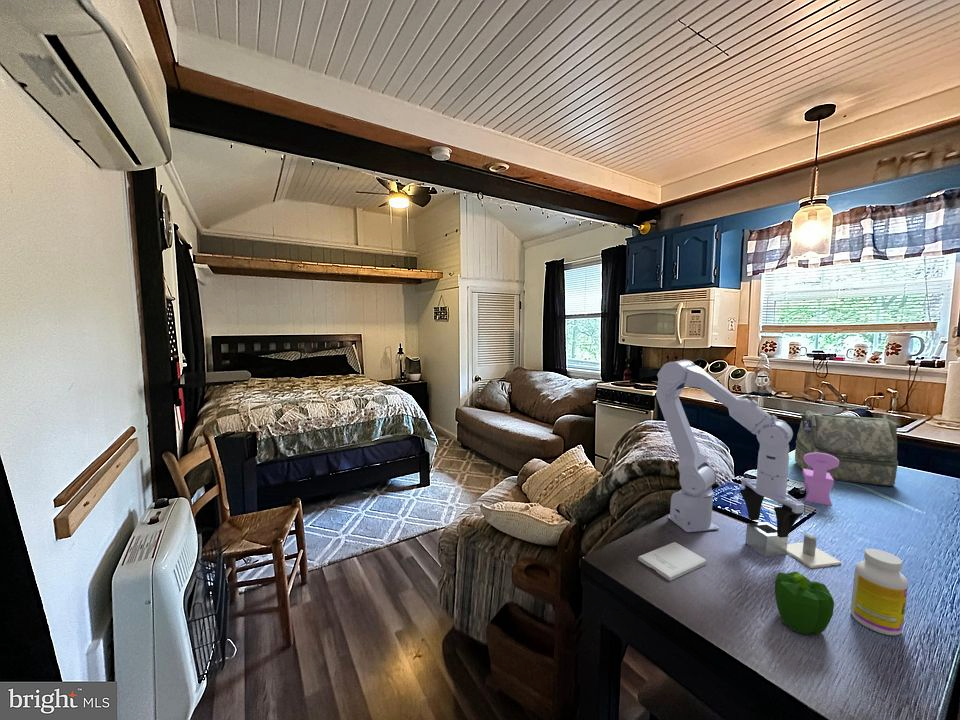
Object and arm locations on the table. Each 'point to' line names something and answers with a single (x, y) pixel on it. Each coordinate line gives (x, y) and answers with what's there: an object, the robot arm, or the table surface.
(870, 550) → the supplement bottle
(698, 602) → the table surface
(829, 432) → the lunch bag
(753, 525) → the white storage bin
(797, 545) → the peg base
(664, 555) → the external hard drive
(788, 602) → the bell pepper
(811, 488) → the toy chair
